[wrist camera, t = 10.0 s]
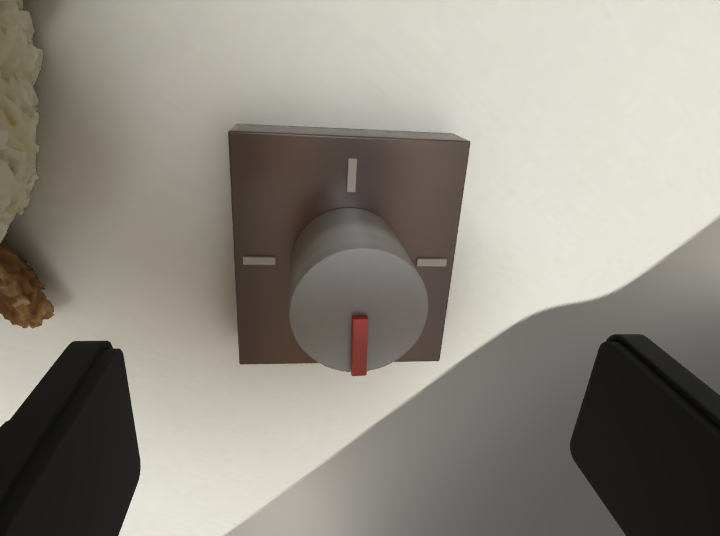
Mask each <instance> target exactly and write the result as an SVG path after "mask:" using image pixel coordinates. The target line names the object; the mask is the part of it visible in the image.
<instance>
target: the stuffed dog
mask: <svg viewBox="0 0 720 536" xmlns="http://www.w3.org/2000/svg"><path fill="white" fill-rule="evenodd" d="M22 8H23V0H0V313H1V314H2V315H3V316H4V318H5V319H7V320H10V322H11V323H12V324H13V325H19V326H22V327H23V328H27V327H28V326H29V325H30V327H31V328H35V327H38V326H41V325H42V320H43V319H49V318H51V317H52V316H54V314H53V312H54V306H53V305H52V303H51V302H50V301H49V300H47V299H46V296H45V294H44V293H43V292H42V291H41V289H45V288H44V285H43V284H42V283H41V281H40V280H39V278H38V277H37V275H36V274H35V272H36V270H35V269H34V268H30V265H29V264H27V262H26V261H25V260H23V259H22V258H20V257H18V256H16V255H15V254H14V253H13V252H12V251H11V249H10V248H9V246H8V245H7V244H6V243H5V242H4V240H3V239H4V238H5V234H7V229H9V225H10V223H11V222H12V221H13V220H14V217H15V214H17V215H22V214H24V208H27V207H28V206H29V203H30V193H31V191H32V190H33V188H34V181H36V180H37V179H39V176H38V175H37V174H36V165H35V163H36V154H38V151H39V148H40V147H39V145H38V144H37V142H36V127H37V125H38V123H39V113H38V112H36V110H38V109H37V108H36V106H35V105H37V103H38V101H39V100H38V98H37V95H36V92H35V90H34V84H35V83H36V80H37V78H38V75H39V72H40V69H41V67H42V62H43V53H42V49H39V48H36V47H35V46H34V45H33V34H34V33H35V30H34V28H33V26H32V19H31V16H30V14H29V11H24V10H22Z"/></svg>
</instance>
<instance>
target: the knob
mask: <svg viewBox="0 0 720 536" xmlns="http://www.w3.org/2000/svg"><path fill="white" fill-rule="evenodd" d="M427 315H428V296H427V292H426V288H425V286H424V283H423V281H422V279H421V277H420V276H419V274H418V272H417V270H416V269H415V267H414V265H413V263H412V262H411V260H410V258H409V256H408V255H407V253H406V251H405V249H404V247H403V246H402V244H401V242H400V240H399V239H398V237H397V235H396V234H395V232H394V230H393V229H392V228H391V227H390V225H389V224H388V223H387V222H386V221H384V220H383V219H382V218H380V217H379V216H377V215H376V214H373V213H371V212H369V211H366V210H362V209H357V208H340V209H335V210H331V211H328V212H326V213H324V214H322V215H319V216H318V217H316V218H315V219H313V220H312V221H311V222H310V223H309V224H307V226H306V227H305V228H304V229H303V230H302V231H301V233H300V234H299V236H298V238H297V240H296V242H295V245H294V248H293V252H292V263H291V284H290V306H289V319H290V325H291V329H292V332H293V334H294V337H295V339H296V341H297V342H298V344H299V345H300V347H301V348H302V349H303V350H304V351H305V352H306V353H307V354H308V355H309V356H310V357H311V358H313V359H314V360H316V361H317V362H319V363H321V364H322V365H324V366H327V367H330V368H332V369H336V370H340V371H347V372H351V375H352V376H363V375H366V374H367V371H369V370H374V369H377V368H380V367H383V366H386V365H388V364H390V363H392V362H394V361H395V360H397V359H399V358H400V357H401V356H403V355H404V354H405V353H406V352H407V351H408V350H409V349H410V348H411V347H412V346H413V345H414V344H415V343H416V341H417V340H418V338H419V337H420V335H421V333H422V331H423V329H424V326H425V323H426V320H427Z"/></svg>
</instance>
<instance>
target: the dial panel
mask: <svg viewBox="0 0 720 536" xmlns="http://www.w3.org/2000/svg"><path fill="white" fill-rule="evenodd" d="M228 136H229V157H230V178H231V198H232V219H233V240H234V261H235V282H236V303H237V324H238V345H239V363H240V364H291V363H319V362H317V361H316V360H314V359H313V358H311V357H310V356H309V355H308V354H307V353H306V352H305V351H304V350H303V349H302V348H301V347H300V345H299V344H298V342H297V341H296V339H295V337H294V334H293V332H292V329H291V325H290V319H289V306H290V284H291V263H292V252H293V248H294V245H295V242H296V240H297V238H298V236H299V234H300V233H301V231H302V230H303V229H304V228H305V227H306V226H307V224H309V223H310V222H311V221H312V220H313V219H315V218H316V217H318V216H319V215H322V214H324V213H326V212H328V211H331V210H335V209H340V208H357V209H362V210H366V211H369V212H371V213H373V214H376V215H377V216H379V217H380V218H382V219H383V220H384V221H386V222H387V223H388V224H389V225H390V227H391V228H392V229H393V230H394V232H395V234H396V235H397V237H398V239H399V240H400V242H401V244H402V246H403V247H404V249H405V251H406V253H407V255H408V256H409V258H410V260H411V262H412V263H413V265H414V267H415V269H416V270H417V272H418V274H419V276H420V277H421V279H422V281H423V283H424V286H425V288H426V292H427V296H428V315H427V320H426V323H425V326H424V329H423V331H422V333H421V335H420V337H419V338H418V340H417V341H416V343H415V344H414V345H413V346H412V347H411V348H410V349H409V350H408V351H407V352H406V353H405V354H404V355H403V356H401V357H400V358H399V359H397V360H395V361H394V362H407V361H439V359H440V352H441V345H442V338H443V331H444V324H445V317H446V310H447V303H448V296H449V289H450V282H451V275H452V268H453V261H454V254H455V247H456V240H457V233H458V226H459V219H460V212H461V204H462V197H463V190H464V183H465V176H466V169H467V162H468V155H469V148H470V141H468V140H466V139H464V138H461V137H459V136H457V135H455V134H451V133H429V132H407V131H385V130H363V129H341V128H318V127H296V126H274V125H252V124H236V125H235V126H234V127H233V128H232V129H230V130H229V132H228Z"/></svg>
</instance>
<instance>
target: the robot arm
mask: <svg viewBox="0 0 720 536" xmlns="http://www.w3.org/2000/svg"><path fill="white" fill-rule="evenodd" d="M570 450H571V454H572V457H573V459H574V461H575V462H576V464H577V465H578V467H579V468H580V470H581V471H582V473H583V474H584V475H585V477H586V478H587V480H588V481H589V482H590V484H591V485H592V487H593V488H594V490H595V491H596V493H597V494H598V496H599V497H600V499H601V500H602V502H603V503H604V504H605V506H606V507H607V509H608V510H609V512H610V513H611V514H612V516H613V517H614V519H615V520H616V522H617V523H618V525H619V526H620V528H621V529H622V530H623V532H624V533H625V535H626V536H720V395H719V394H717V393H716V392H715V391H713V390H712V389H711V388H710V387H708V386H707V385H706V384H705V383H703V382H702V381H701V380H699V379H698V378H697V377H696V376H695V375H693V374H692V373H691V372H690V371H688V370H687V369H686V368H684V367H683V366H682V365H681V364H680V363H678V362H677V361H676V360H675V359H673V358H672V357H671V356H670V355H668V354H667V353H666V352H665V351H663V350H662V349H661V348H660V347H658V346H657V345H656V344H654V343H653V342H652V341H651V340H650V339H648V338H647V337H645V336H644V335H640V334H627V335H626V334H618V335H612V336H610V337H609V338H608V339H607V341H606V342H604V343H602V344H601V346H600V348H599V350H598V354H597V357H596V360H595V363H594V367H593V370H592V373H591V377H590V379H589V383H588V386H587V390H586V393H585V396H584V399H583V402H582V405H581V409H580V412H579V415H578V418H577V422H576V425H575V428H574V431H573V435H572V438H571V442H570ZM139 475H140V456H139V450H138V443H137V437H136V431H135V425H134V418H133V412H132V406H131V400H130V393H129V387H128V381H127V374H126V368H125V362H124V356H123V352H122V350H121V349H113V347H112V345H111V343H110V342H109V341H74V342H72V343H70V344H69V345H68V347H67V348H66V349H65V350H64V352H63V353H62V354H61V355H60V357H59V358H58V359H57V361H56V362H55V363H54V364H53V366H52V367H51V368H50V369H49V371H48V372H47V373H46V375H45V376H44V377H43V378H42V380H41V381H40V382H39V383H38V385H37V386H36V387H35V389H34V390H33V391H32V392H31V394H30V395H29V396H28V397H27V399H26V400H25V401H24V403H23V404H22V405H21V406H20V408H19V409H18V410H17V411H16V413H15V414H14V415H13V417H12V418H11V419H10V420H9V421H7V422H5V423H4V424H3V425H2V426H1V427H0V536H118V535H119V532H120V530H121V527H122V524H123V521H124V519H125V516H126V513H127V511H128V508H129V505H130V502H131V500H132V497H133V494H134V492H135V489H136V486H137V483H138V480H139Z"/></svg>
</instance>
